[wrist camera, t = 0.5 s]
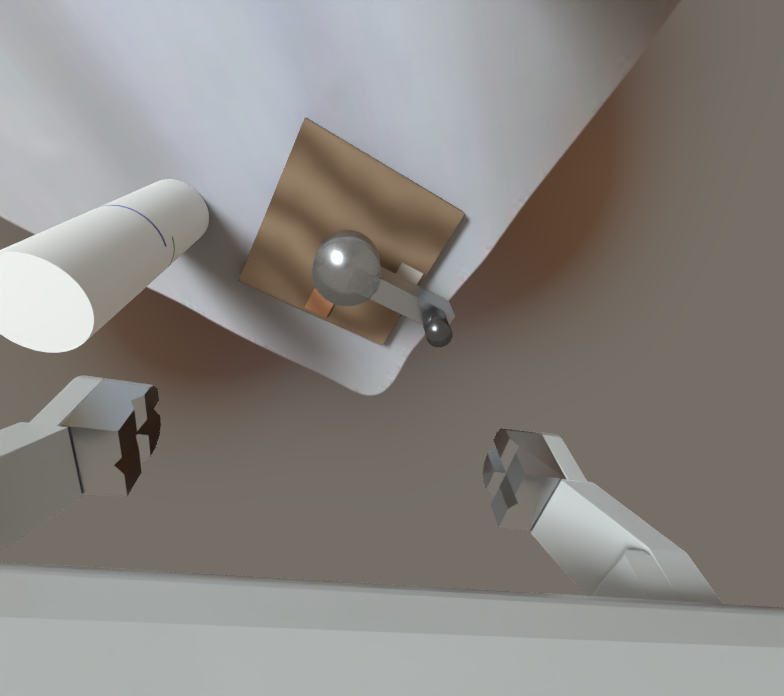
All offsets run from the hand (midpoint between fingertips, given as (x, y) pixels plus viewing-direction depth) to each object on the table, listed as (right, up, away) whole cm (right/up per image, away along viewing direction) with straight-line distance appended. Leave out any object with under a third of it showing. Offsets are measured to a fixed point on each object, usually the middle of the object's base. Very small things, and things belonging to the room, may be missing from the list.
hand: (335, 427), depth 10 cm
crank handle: (0, +10, +38) cm, 39 cm away
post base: (-4, +15, +42) cm, 44 cm away
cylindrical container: (-23, +18, +39) cm, 48 cm away
